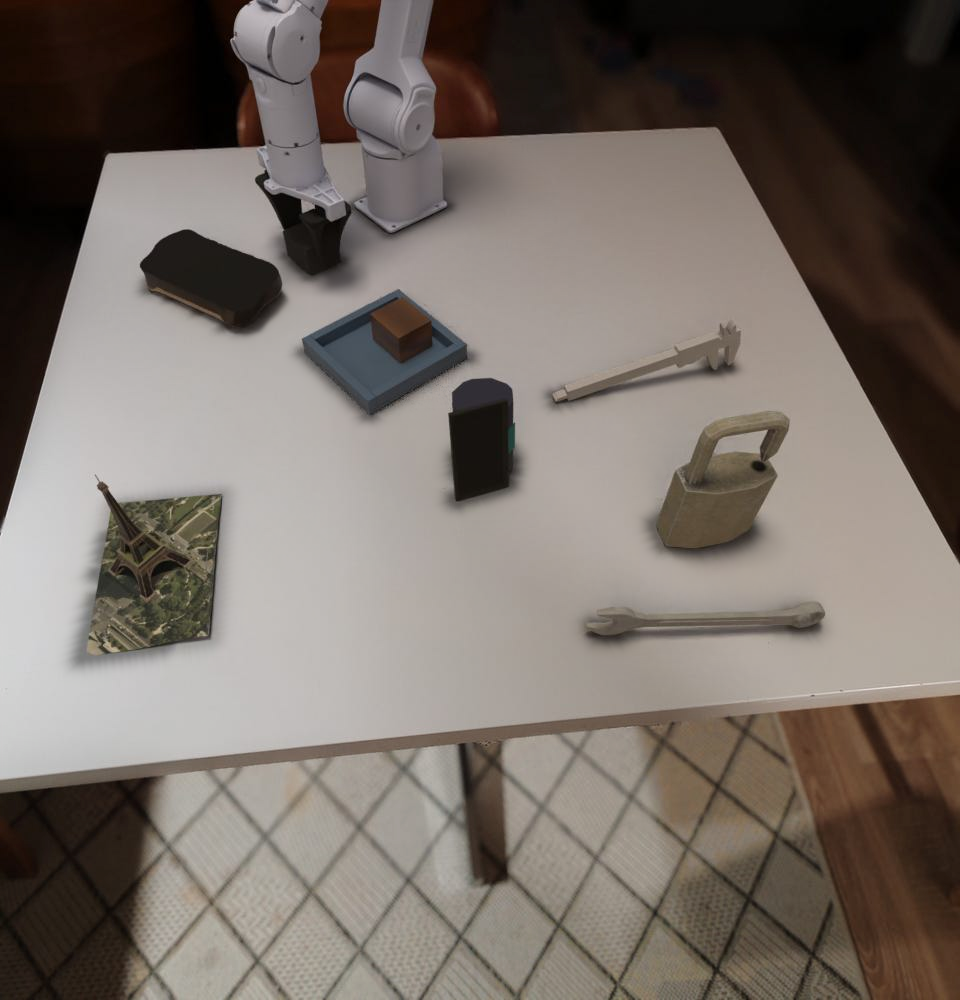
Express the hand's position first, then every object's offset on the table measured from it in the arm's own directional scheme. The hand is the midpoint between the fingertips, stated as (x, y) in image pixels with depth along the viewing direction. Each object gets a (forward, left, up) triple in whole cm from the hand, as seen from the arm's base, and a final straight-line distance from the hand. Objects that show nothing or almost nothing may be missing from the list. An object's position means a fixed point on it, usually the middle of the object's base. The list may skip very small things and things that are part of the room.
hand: (311, 245), depth 92 cm
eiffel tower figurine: (+35, +28, -2) cm, 45 cm away
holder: (+3, +19, -2) cm, 19 cm away
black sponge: (+12, -2, -2) cm, 12 cm away
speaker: (+6, +37, -2) cm, 38 cm away
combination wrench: (+3, +62, -2) cm, 62 cm away
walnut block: (+1, +19, -2) cm, 19 cm away
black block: (0, 0, -2) cm, 2 cm away
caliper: (-15, +40, -2) cm, 43 cm away
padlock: (-5, +56, -2) cm, 56 cm away
